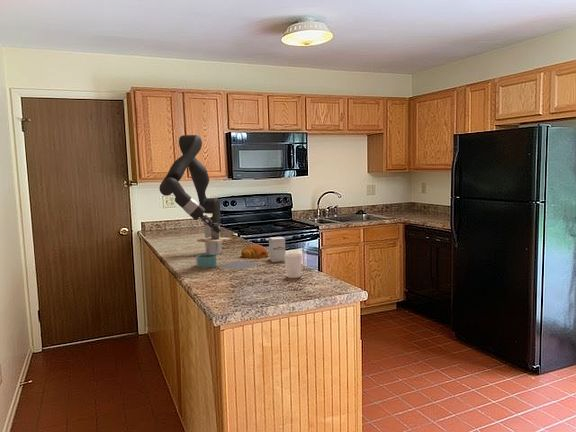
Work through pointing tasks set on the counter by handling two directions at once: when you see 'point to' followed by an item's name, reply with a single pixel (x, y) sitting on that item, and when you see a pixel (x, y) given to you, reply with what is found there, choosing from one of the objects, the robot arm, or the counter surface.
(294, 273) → the white cup
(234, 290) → the counter surface
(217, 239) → the lid
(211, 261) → the bowl
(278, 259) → the supplement box
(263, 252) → the croissant
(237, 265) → the mat
